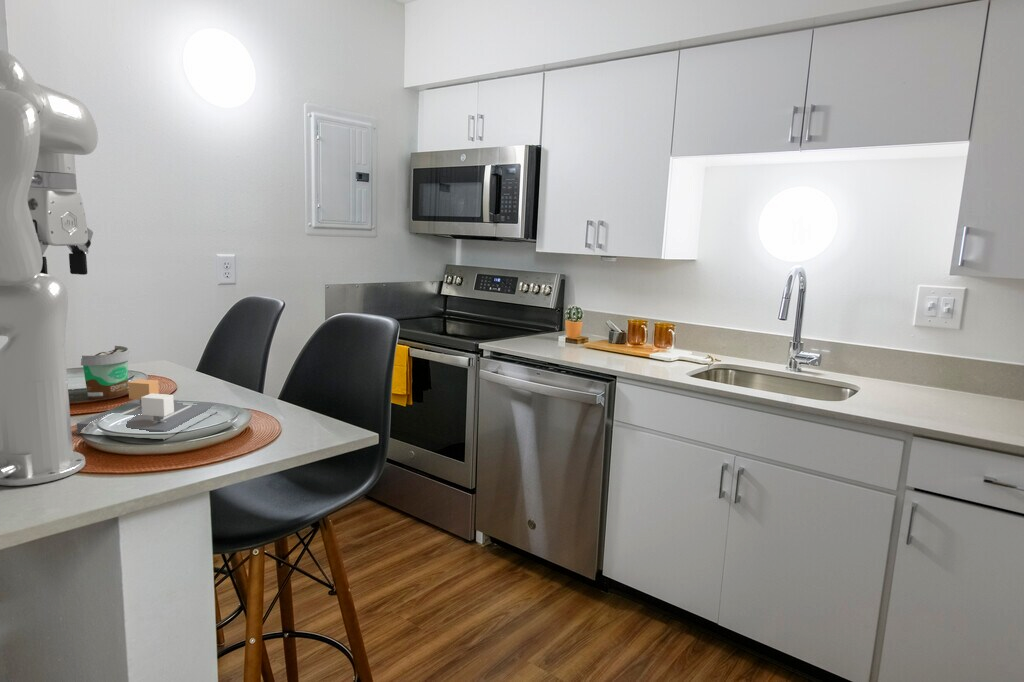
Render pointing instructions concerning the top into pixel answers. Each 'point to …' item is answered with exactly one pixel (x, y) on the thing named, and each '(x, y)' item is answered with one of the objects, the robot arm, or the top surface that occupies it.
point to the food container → (106, 373)
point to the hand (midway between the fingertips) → (59, 276)
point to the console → (146, 421)
